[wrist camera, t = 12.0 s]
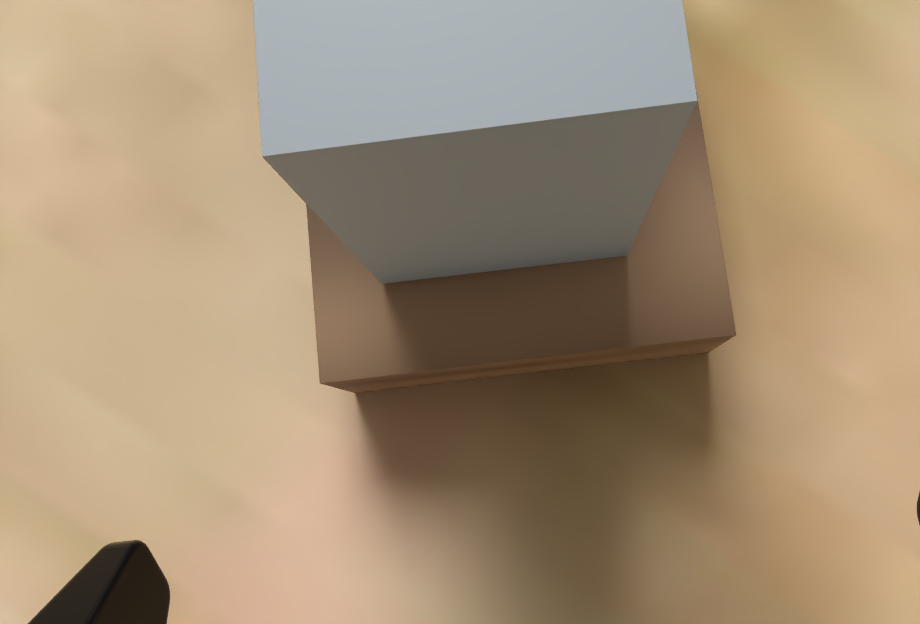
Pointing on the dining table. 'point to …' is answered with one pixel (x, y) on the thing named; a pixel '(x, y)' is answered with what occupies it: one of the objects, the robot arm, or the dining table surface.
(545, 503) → the dining table surface
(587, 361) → the walnut block
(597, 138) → the slate block
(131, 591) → the robot arm
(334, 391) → the dining table surface
